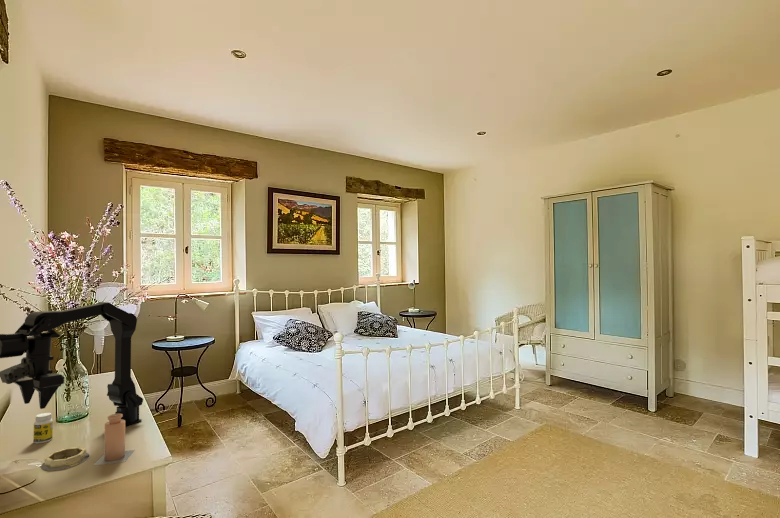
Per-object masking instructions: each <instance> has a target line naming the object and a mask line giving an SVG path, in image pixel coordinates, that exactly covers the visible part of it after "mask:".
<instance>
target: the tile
mask: <svg viewBox="0 0 780 518" xmlns="http://www.w3.org/2000/svg"><path fill="white" fill-rule="evenodd" d="M135 451H136V450H135V449H132V450H131V449H130V450H125V456H124V457H123V458H121V459H119V460H115V461H105V460H104V454H103V455H101V457H99V459H98V460H97V461H95V463H93V464H92V465H93V466H101V465H110V464H118V463H119V464H120V463H125V462H126V461H128V460H129V458H130V457H131V456H132V454H133V453H135Z"/></svg>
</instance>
